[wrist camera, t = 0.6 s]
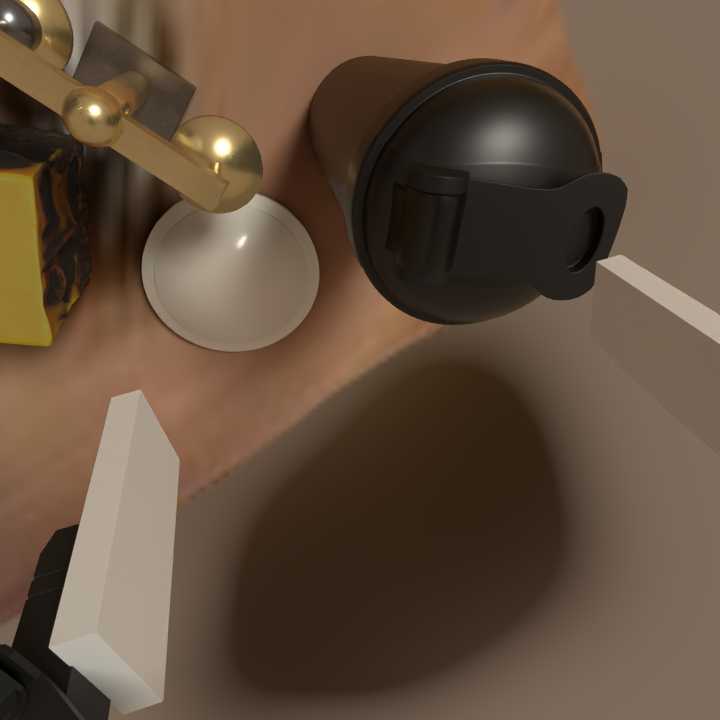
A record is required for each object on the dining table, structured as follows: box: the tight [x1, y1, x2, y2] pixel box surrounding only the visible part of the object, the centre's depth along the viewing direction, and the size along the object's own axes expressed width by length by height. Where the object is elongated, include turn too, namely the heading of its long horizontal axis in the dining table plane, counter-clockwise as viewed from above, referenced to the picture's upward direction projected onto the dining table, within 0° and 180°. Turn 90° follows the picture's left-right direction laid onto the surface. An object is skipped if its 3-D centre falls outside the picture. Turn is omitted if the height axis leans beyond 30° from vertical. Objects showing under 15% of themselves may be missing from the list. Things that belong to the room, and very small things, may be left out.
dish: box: [142, 192, 319, 352], centre depth 40 cm, size 13×13×1 cm
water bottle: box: [308, 56, 627, 325], centre depth 27 cm, size 10×10×23 cm
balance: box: [0, 0, 263, 214], centre depth 27 cm, size 16×5×14 cm, turn 54°
